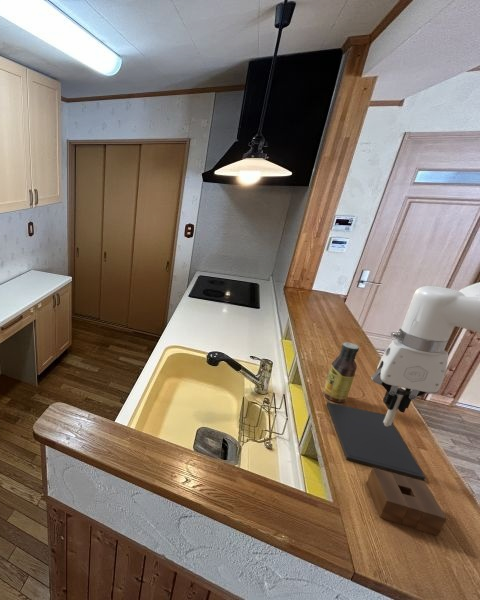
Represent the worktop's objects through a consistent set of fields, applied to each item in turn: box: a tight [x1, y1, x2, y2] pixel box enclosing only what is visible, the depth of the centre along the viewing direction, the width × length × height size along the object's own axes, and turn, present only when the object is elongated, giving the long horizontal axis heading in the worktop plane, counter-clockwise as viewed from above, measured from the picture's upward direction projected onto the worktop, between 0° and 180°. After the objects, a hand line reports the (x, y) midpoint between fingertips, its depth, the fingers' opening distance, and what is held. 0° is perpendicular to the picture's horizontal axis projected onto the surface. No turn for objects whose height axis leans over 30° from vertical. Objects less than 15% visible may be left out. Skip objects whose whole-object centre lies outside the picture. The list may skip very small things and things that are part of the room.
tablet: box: [325, 401, 426, 482], centre depth 90 cm, size 15×24×1 cm, turn 154°
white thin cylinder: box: [383, 387, 405, 427], centre depth 79 cm, size 2×2×11 cm
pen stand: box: [365, 467, 448, 537], centre depth 70 cm, size 9×9×5 cm
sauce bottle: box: [323, 341, 360, 403], centre depth 103 cm, size 6×6×20 cm
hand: (393, 407), depth 79 cm, fingers closed on white thin cylinder, 1 cm apart
